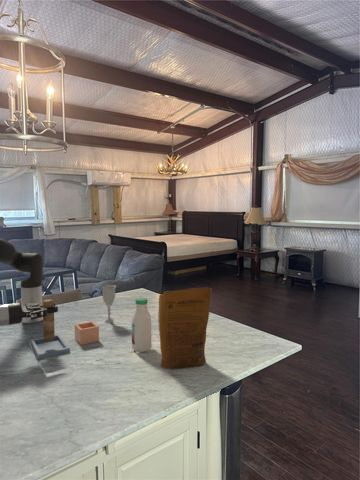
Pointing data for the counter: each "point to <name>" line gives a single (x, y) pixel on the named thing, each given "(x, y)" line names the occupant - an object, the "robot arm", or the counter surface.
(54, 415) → the counter surface
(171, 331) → the pancake mix bag
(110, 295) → the chalice
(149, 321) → the milk bottle
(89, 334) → the terracotta cup
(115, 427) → the counter surface
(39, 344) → the slate tray
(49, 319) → the walnut dowel
